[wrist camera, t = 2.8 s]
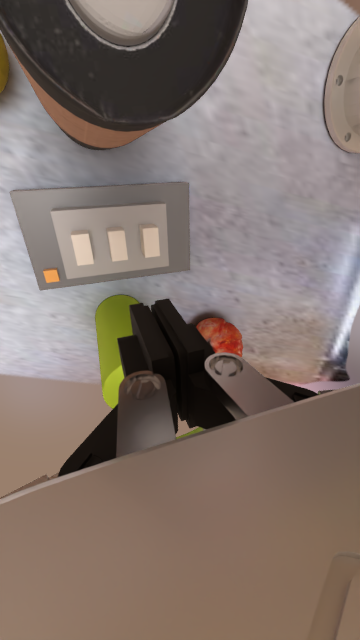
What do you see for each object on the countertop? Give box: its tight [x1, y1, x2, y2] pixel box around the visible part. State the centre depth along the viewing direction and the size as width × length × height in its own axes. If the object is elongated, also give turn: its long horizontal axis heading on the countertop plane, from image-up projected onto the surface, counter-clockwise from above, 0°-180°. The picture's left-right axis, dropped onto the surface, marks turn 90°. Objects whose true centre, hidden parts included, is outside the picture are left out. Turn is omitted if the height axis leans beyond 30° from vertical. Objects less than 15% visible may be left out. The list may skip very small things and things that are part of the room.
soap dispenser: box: [95, 295, 203, 439], centre depth 25 cm, size 6×7×20 cm
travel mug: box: [0, 0, 248, 150], centre depth 15 cm, size 8×8×20 cm
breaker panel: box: [10, 182, 190, 290], centre depth 26 cm, size 16×9×6 cm, turn 92°
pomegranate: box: [196, 318, 243, 357], centre depth 36 cm, size 7×7×10 cm
